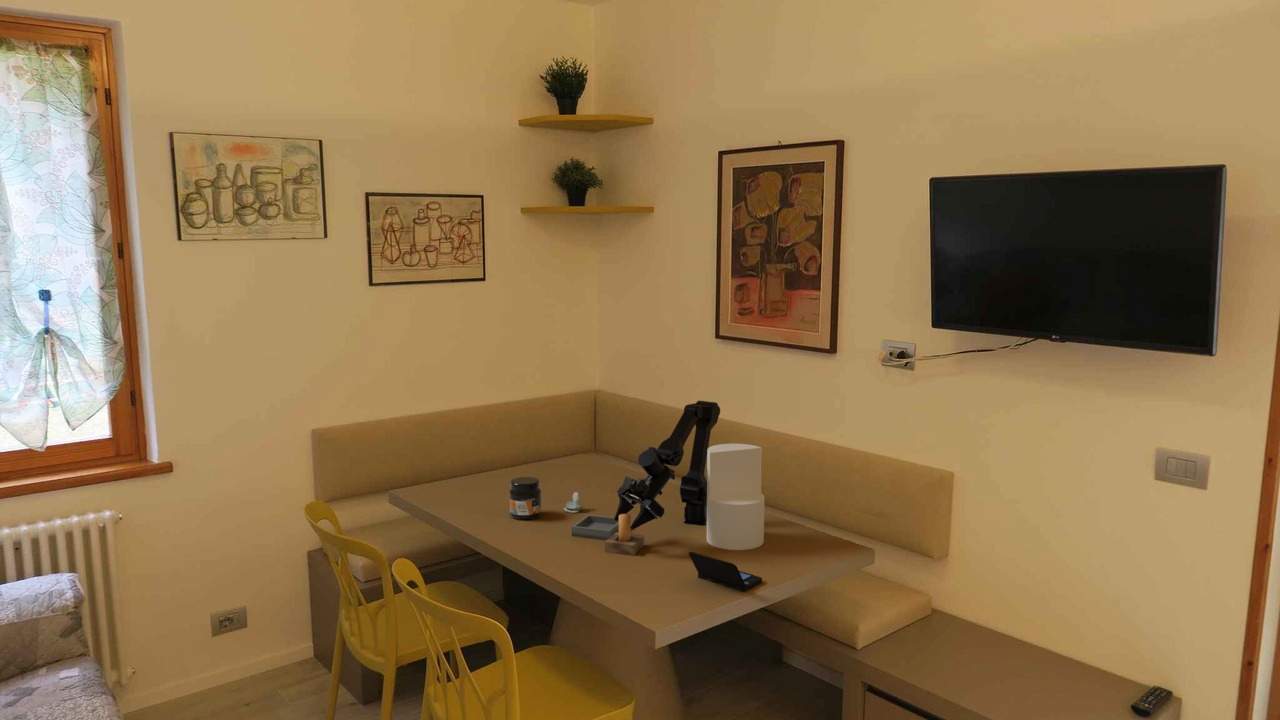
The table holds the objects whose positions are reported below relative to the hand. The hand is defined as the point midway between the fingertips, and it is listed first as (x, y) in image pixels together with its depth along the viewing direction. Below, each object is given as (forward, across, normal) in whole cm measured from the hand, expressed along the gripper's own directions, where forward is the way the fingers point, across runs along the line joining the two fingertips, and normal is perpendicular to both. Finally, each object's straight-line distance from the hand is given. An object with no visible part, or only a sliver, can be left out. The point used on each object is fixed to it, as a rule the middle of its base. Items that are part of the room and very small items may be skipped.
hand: (623, 524), depth 261 cm
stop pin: (+5, 0, +6) cm, 8 cm away
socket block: (+5, 0, +6) cm, 8 cm away
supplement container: (+13, -44, -2) cm, 46 cm away
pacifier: (+2, -41, +9) cm, 42 cm away
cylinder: (-18, +12, +28) cm, 35 cm away
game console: (-1, +36, +13) cm, 39 cm away
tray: (+4, -17, +6) cm, 19 cm away
